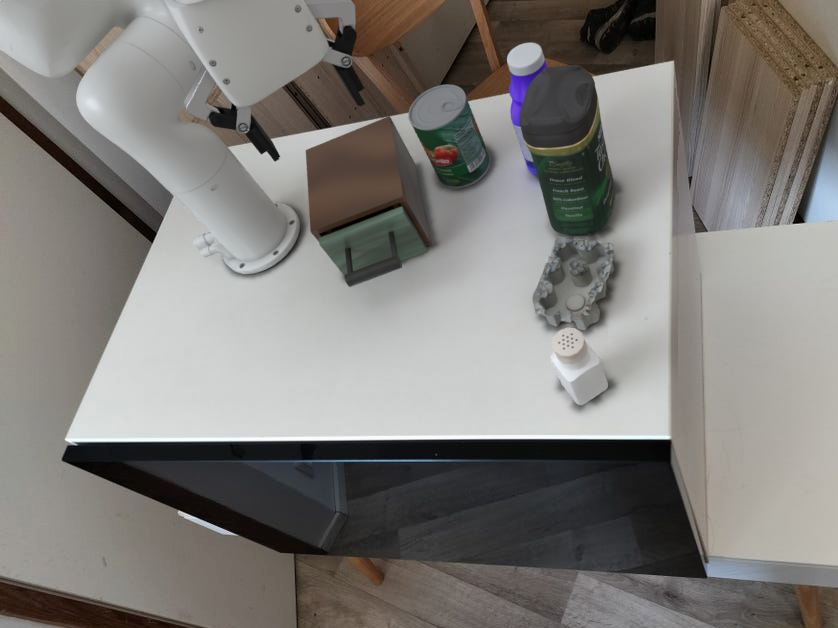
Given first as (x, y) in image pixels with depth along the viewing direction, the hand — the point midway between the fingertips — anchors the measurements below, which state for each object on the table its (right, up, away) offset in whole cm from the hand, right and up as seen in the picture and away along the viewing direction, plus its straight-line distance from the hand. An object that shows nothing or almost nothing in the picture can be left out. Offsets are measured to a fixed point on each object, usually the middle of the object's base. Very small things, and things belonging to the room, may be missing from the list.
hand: (315, 125), depth 66 cm
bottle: (+26, +3, +24) cm, 36 cm away
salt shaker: (+27, -26, +7) cm, 38 cm away
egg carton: (+27, -15, +13) cm, 34 cm away
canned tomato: (+14, +4, +30) cm, 33 cm away
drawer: (+3, -7, +26) cm, 27 cm away
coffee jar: (+29, -4, +19) cm, 35 cm away
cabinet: (+2, -3, +29) cm, 30 cm away
